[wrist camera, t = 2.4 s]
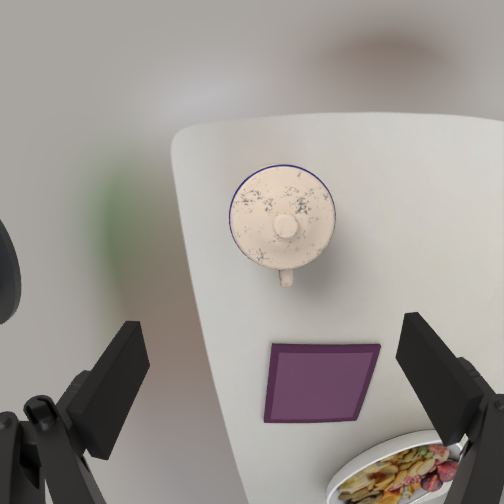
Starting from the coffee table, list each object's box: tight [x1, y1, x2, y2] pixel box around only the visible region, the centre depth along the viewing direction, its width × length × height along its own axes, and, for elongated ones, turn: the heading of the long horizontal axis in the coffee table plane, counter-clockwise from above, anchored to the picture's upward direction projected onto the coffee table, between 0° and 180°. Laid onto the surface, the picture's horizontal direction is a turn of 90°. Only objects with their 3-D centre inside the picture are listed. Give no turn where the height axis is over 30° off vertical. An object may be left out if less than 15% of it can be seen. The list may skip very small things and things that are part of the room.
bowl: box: [325, 430, 463, 504], centre depth 47 cm, size 30×30×8 cm
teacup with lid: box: [229, 164, 336, 287], centre depth 30 cm, size 12×9×12 cm
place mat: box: [264, 343, 381, 423], centre depth 42 cm, size 15×15×1 cm
